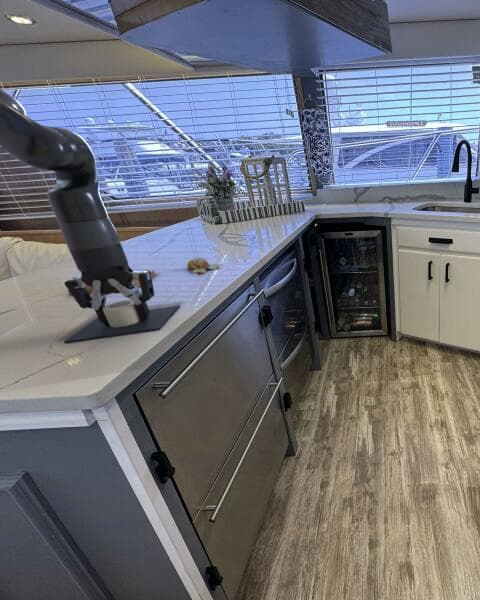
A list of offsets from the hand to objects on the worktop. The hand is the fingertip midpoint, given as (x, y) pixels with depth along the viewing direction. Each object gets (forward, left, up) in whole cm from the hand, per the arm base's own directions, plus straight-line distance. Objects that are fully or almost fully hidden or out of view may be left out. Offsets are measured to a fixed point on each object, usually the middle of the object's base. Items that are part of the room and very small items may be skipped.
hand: (127, 321), depth 68 cm
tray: (-15, +29, 0) cm, 33 cm away
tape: (0, 0, 0) cm, 0 cm away
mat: (0, 0, 0) cm, 0 cm away
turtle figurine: (+5, +36, -1) cm, 36 cm away
